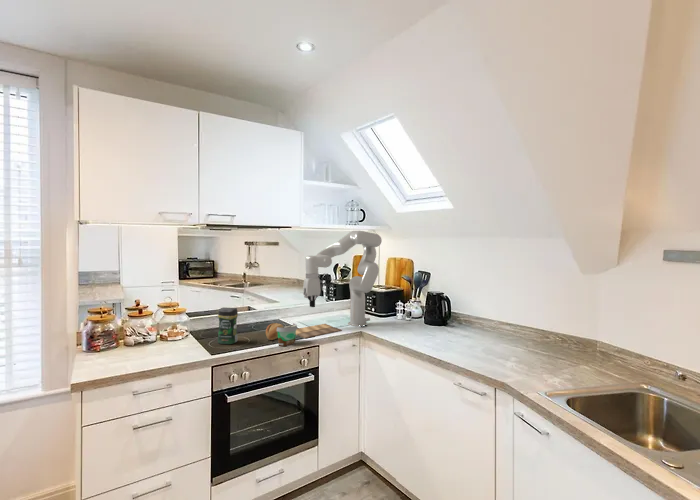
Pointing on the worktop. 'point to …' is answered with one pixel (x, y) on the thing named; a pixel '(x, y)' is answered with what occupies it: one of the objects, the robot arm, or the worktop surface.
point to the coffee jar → (227, 325)
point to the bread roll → (273, 331)
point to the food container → (286, 335)
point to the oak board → (312, 328)
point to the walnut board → (319, 332)
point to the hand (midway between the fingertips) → (312, 306)
